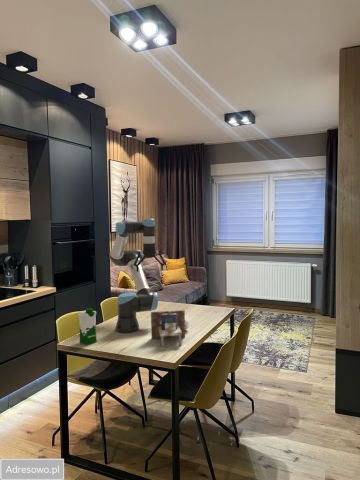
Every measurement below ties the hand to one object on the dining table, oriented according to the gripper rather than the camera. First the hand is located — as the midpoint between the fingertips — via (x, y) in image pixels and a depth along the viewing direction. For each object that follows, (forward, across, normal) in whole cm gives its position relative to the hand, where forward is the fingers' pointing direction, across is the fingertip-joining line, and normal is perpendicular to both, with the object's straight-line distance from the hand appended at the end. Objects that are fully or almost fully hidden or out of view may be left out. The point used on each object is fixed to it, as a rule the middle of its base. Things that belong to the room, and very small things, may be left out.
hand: (149, 276), depth 233 cm
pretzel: (+35, +18, -5) cm, 40 cm away
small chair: (+35, +9, -24) cm, 43 cm away
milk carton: (+35, -38, -15) cm, 54 cm away
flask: (+27, +9, -25) cm, 38 cm away
